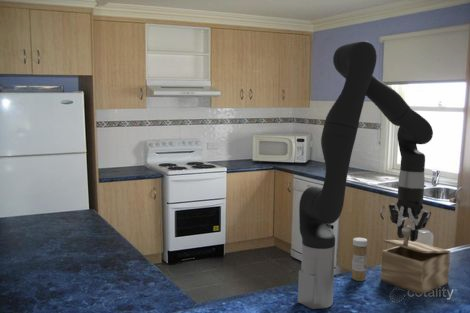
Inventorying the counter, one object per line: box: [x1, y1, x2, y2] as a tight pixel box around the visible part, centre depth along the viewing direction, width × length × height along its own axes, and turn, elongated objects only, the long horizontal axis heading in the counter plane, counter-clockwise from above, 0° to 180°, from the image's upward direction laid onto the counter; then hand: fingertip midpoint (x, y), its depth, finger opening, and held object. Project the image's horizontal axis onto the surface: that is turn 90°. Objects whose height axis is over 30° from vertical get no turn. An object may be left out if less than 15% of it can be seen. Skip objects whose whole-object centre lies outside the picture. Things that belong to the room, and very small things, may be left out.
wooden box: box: [380, 246, 451, 295], centre depth 152 cm, size 16×14×10 cm
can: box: [415, 228, 434, 246], centre depth 171 cm, size 6×6×12 cm
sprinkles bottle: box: [351, 237, 368, 282], centre depth 154 cm, size 5×5×14 cm
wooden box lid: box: [382, 224, 451, 254], centre depth 151 cm, size 16×14×7 cm
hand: (407, 239), depth 148 cm, fingers closed on wooden box lid, 3 cm apart
